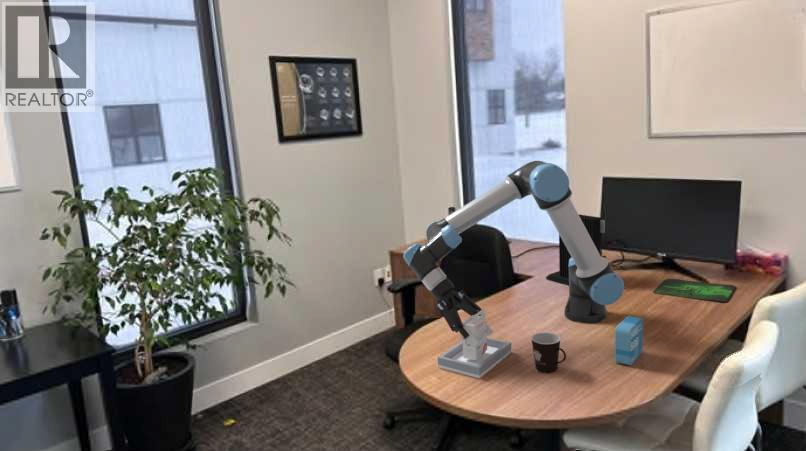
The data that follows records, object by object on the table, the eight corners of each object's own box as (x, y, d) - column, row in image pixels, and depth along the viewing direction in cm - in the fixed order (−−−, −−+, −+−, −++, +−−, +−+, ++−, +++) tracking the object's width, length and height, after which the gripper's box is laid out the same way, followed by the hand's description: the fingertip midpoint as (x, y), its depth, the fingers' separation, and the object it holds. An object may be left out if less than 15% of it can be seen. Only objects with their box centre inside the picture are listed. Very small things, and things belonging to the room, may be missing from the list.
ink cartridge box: (473, 347, 189) (471, 305, 186) (487, 350, 187) (485, 307, 184) (462, 358, 182) (460, 314, 179) (476, 360, 180) (474, 316, 177)
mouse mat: (651, 294, 233) (651, 291, 233) (665, 279, 250) (665, 276, 250) (727, 304, 216) (727, 302, 216) (736, 287, 233) (736, 285, 233)
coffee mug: (528, 363, 179) (527, 334, 177) (555, 361, 180) (554, 331, 178) (540, 381, 168) (539, 349, 166) (568, 378, 169) (568, 346, 167)
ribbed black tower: (627, 284, 246) (627, 215, 240) (599, 294, 236) (599, 223, 230) (570, 270, 271) (569, 207, 265) (543, 279, 261) (541, 214, 255)
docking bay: (511, 352, 188) (511, 342, 188) (479, 378, 172) (479, 367, 172) (472, 343, 198) (471, 333, 197) (438, 367, 181) (437, 357, 181)
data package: (629, 367, 173) (630, 330, 170) (614, 363, 176) (614, 327, 173) (642, 352, 182) (643, 317, 179) (628, 349, 184) (628, 314, 182)
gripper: (450, 281, 198) (492, 333, 192) (413, 301, 182) (458, 358, 175) (462, 269, 194) (506, 321, 188) (426, 287, 177) (473, 345, 171)
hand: (483, 339), depth 181 cm, fingers closed on ink cartridge box, 9 cm apart
